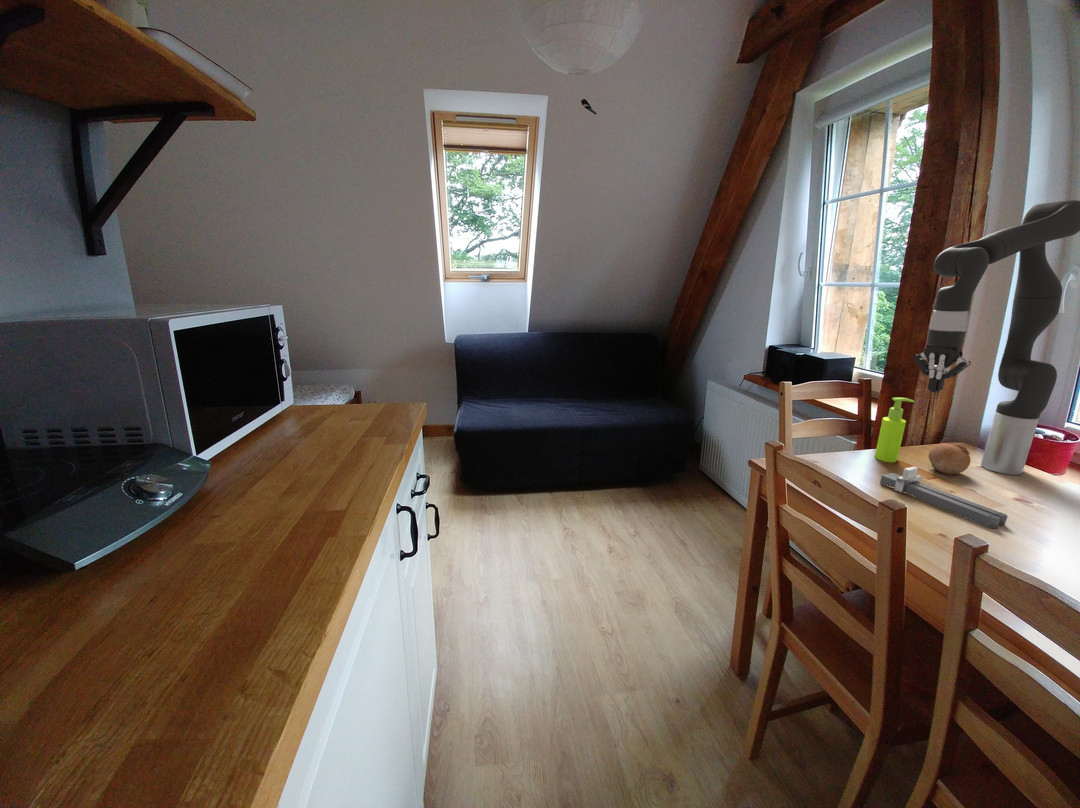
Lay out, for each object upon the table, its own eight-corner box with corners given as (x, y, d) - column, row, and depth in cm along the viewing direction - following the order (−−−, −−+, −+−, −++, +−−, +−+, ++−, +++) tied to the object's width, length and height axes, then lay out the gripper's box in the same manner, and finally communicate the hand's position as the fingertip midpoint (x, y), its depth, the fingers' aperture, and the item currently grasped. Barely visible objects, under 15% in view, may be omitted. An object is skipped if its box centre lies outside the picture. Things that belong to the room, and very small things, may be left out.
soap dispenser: (904, 463, 149) (919, 401, 143) (879, 461, 150) (893, 400, 145) (895, 456, 155) (908, 396, 149) (871, 454, 156) (883, 395, 150)
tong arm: (901, 486, 133) (902, 479, 132) (905, 485, 133) (907, 478, 133) (1002, 525, 113) (1004, 517, 112) (1006, 524, 114) (1009, 515, 113)
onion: (957, 482, 143) (983, 456, 139) (948, 481, 138) (975, 454, 134) (925, 461, 150) (950, 435, 146) (915, 459, 144) (941, 433, 140)
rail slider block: (894, 489, 131) (898, 468, 129) (910, 485, 133) (915, 465, 131) (901, 493, 129) (906, 471, 127) (918, 488, 131) (923, 467, 130)
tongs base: (880, 483, 135) (881, 475, 134) (890, 480, 137) (892, 472, 136) (994, 529, 112) (997, 519, 111) (1005, 525, 113) (1008, 516, 113)
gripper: (911, 326, 130) (899, 388, 135) (968, 332, 118) (953, 399, 123) (928, 324, 133) (917, 385, 138) (986, 329, 121) (971, 395, 126)
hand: (934, 391), depth 130 cm, fingers closed
